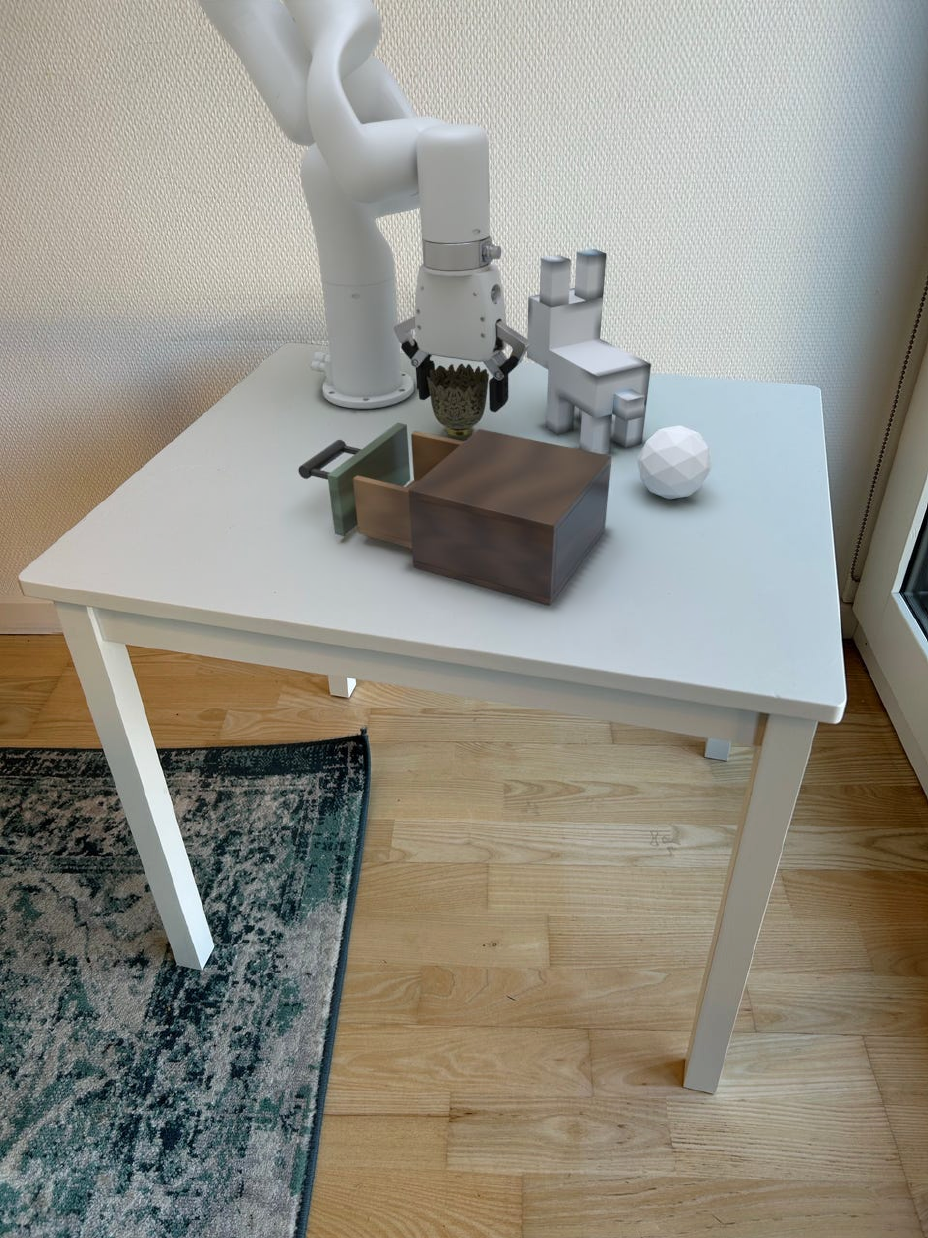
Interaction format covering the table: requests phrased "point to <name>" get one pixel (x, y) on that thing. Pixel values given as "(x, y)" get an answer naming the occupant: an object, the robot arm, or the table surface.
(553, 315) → the toy llama
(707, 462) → the geometric ball
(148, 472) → the table surface
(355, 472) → the drawer
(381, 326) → the robot arm
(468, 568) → the cabinet
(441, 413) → the cup
